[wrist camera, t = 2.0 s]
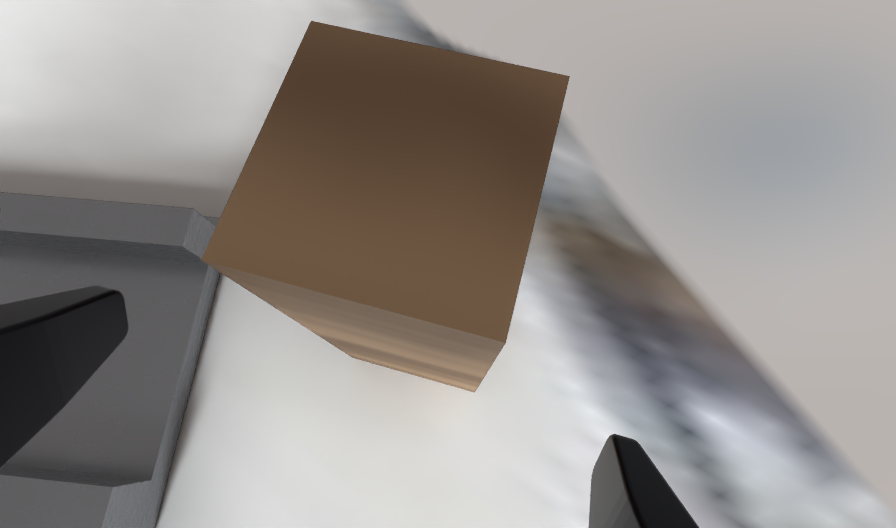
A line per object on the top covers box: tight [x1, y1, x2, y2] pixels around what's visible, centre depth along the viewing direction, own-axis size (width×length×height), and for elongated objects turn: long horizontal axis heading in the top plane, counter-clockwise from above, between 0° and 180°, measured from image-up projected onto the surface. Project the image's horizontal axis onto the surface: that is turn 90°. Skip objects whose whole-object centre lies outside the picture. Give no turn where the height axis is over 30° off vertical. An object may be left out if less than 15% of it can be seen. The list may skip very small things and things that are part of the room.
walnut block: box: [201, 21, 569, 392], centre depth 14 cm, size 5×5×12 cm
